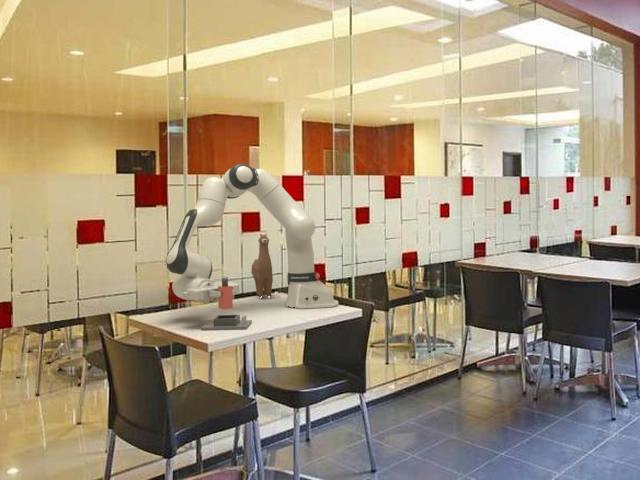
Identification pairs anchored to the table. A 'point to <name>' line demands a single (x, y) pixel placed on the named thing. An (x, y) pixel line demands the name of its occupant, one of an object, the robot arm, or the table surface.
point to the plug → (225, 295)
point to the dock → (227, 323)
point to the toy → (263, 268)
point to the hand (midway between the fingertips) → (226, 293)
